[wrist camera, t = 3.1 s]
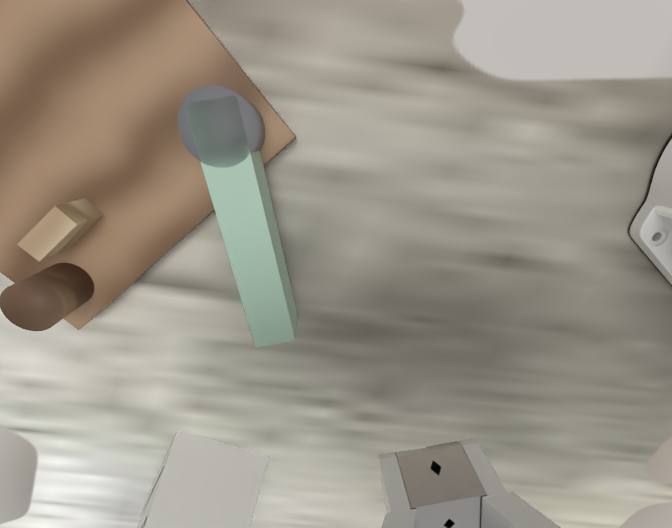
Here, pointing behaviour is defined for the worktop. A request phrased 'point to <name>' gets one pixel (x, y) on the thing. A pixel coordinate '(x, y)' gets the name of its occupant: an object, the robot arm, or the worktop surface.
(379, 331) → the worktop surface
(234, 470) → the grey tiered tower
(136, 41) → the stool seat
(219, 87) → the hinged leg
